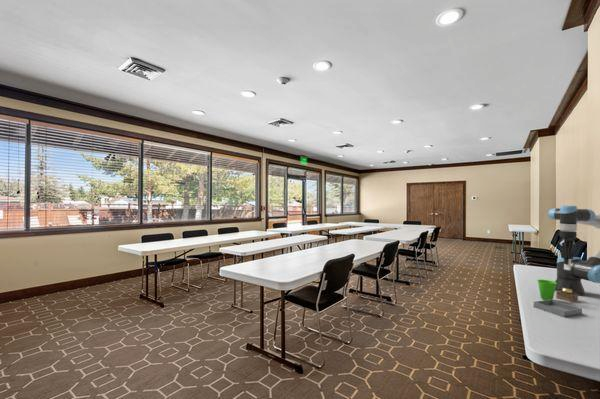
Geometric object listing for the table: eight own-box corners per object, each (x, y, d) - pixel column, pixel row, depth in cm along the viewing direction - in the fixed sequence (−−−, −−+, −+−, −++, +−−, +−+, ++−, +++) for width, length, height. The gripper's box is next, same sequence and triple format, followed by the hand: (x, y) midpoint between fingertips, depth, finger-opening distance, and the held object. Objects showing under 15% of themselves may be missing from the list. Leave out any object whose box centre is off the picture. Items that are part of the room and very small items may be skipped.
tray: (550, 304, 161) (550, 299, 161) (582, 314, 148) (582, 308, 148) (533, 307, 157) (533, 301, 157) (564, 317, 143) (564, 311, 143)
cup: (560, 303, 164) (561, 284, 164) (542, 301, 166) (543, 283, 166) (550, 297, 173) (550, 280, 173) (533, 296, 175) (533, 278, 175)
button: (565, 292, 174) (565, 287, 174) (573, 294, 169) (573, 289, 169) (560, 292, 172) (560, 287, 172) (569, 295, 168) (569, 290, 168)
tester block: (563, 297, 175) (563, 290, 175) (577, 300, 169) (577, 294, 169) (556, 298, 173) (556, 291, 173) (570, 302, 166) (570, 295, 166)
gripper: (567, 230, 177) (566, 267, 176) (553, 230, 173) (552, 268, 172) (582, 231, 169) (581, 270, 169) (568, 231, 165) (567, 271, 165)
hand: (567, 269), depth 171 cm, fingers closed
